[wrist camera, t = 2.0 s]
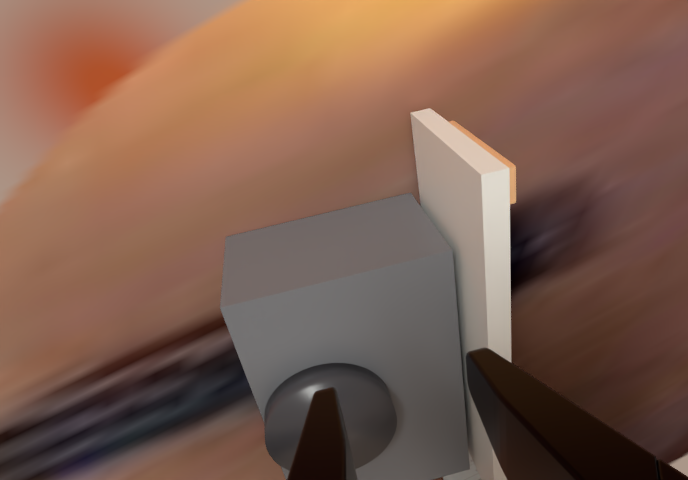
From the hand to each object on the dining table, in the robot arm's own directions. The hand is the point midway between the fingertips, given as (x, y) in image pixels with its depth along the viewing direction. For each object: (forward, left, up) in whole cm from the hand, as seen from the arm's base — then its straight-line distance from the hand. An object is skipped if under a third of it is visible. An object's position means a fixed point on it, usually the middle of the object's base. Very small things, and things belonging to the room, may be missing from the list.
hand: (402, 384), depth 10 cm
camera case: (-1, -8, -12) cm, 14 cm away
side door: (+5, -6, -12) cm, 14 cm away
